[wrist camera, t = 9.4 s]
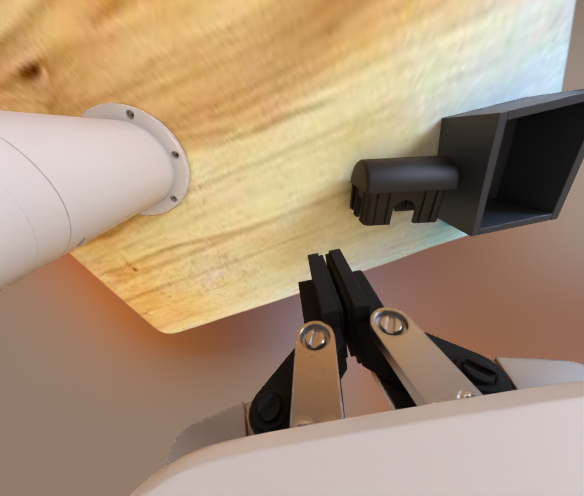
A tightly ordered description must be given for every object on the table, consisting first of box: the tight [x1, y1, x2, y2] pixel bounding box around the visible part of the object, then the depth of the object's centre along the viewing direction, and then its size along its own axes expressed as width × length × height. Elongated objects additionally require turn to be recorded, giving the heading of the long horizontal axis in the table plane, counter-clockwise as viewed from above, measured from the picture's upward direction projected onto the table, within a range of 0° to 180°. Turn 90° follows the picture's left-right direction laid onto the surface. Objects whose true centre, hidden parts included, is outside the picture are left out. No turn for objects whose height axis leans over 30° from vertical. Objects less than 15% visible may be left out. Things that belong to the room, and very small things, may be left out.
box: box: [437, 89, 584, 236], centre depth 24 cm, size 10×13×8 cm
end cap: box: [350, 156, 459, 226], centre depth 25 cm, size 10×7×7 cm
